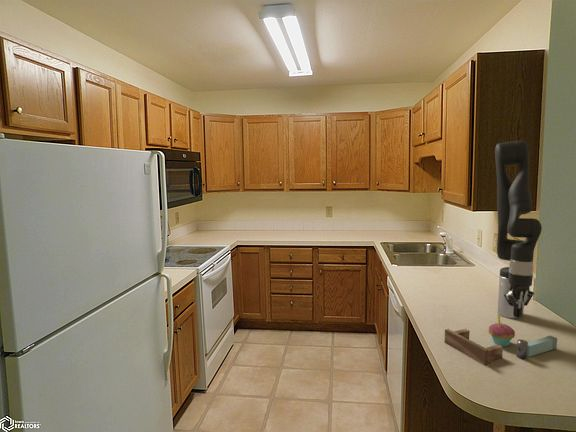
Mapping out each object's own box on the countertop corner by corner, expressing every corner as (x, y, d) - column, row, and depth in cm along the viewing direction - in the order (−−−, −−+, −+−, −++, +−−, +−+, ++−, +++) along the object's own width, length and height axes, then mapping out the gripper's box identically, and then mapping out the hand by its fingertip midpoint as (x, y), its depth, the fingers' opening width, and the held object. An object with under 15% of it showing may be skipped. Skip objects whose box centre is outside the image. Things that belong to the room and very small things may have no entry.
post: (520, 354, 129) (521, 338, 128) (528, 358, 126) (530, 342, 125) (514, 355, 128) (515, 340, 127) (522, 360, 125) (523, 344, 124)
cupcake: (503, 350, 132) (505, 318, 130) (482, 340, 139) (484, 310, 138) (519, 345, 135) (521, 314, 133) (498, 336, 143) (499, 306, 141)
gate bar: (529, 356, 127) (529, 345, 126) (522, 353, 129) (523, 342, 128) (556, 348, 132) (557, 338, 131) (549, 345, 134) (550, 335, 133)
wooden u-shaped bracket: (463, 337, 142) (463, 325, 141) (504, 359, 126) (505, 345, 125) (444, 342, 139) (444, 329, 138) (484, 365, 123) (485, 350, 122)
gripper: (524, 267, 143) (520, 311, 145) (498, 271, 138) (495, 315, 140) (543, 272, 136) (539, 318, 138) (517, 276, 131) (513, 323, 133)
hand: (517, 316), depth 139 cm, fingers closed
